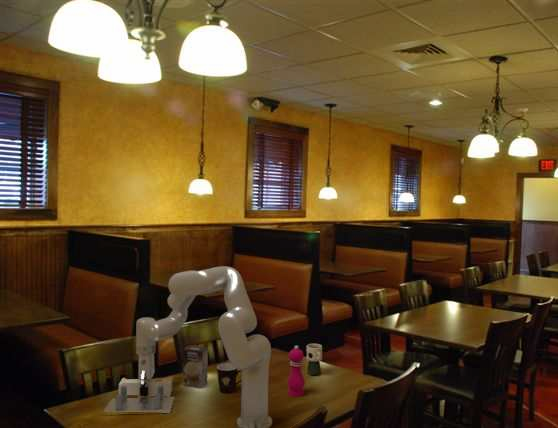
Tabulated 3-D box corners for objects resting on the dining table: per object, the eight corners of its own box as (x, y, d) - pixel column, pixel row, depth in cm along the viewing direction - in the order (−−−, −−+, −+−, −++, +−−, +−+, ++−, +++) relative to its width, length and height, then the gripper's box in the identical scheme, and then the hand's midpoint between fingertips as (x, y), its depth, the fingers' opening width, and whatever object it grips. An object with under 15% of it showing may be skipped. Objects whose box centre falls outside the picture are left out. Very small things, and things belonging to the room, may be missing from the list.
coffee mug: (212, 392, 205) (212, 368, 205) (224, 385, 213) (224, 362, 212) (236, 397, 200) (236, 373, 199) (247, 390, 207) (247, 366, 207)
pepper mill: (303, 397, 200) (303, 348, 200) (285, 396, 202) (286, 347, 201) (305, 390, 207) (306, 343, 207) (288, 389, 209) (289, 342, 208)
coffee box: (182, 386, 211) (182, 348, 210) (188, 381, 217) (188, 344, 217) (202, 388, 209) (202, 351, 208) (208, 383, 215) (208, 346, 214)
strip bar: (169, 398, 199) (169, 381, 198) (118, 399, 197) (118, 383, 197) (172, 391, 206) (172, 375, 205) (122, 392, 204) (122, 376, 204)
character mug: (301, 371, 231) (301, 343, 230) (315, 368, 234) (315, 341, 233) (312, 379, 221) (313, 350, 220) (326, 376, 224) (327, 348, 223)
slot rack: (170, 413, 184) (170, 396, 184) (103, 415, 182) (103, 398, 182) (174, 400, 196) (174, 384, 196) (111, 402, 194) (111, 385, 194)
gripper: (151, 355, 192) (151, 400, 193) (158, 342, 210) (158, 383, 210) (131, 356, 192) (131, 400, 192) (140, 342, 209) (140, 383, 210)
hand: (145, 391), depth 201 cm, fingers open, 8 cm apart
